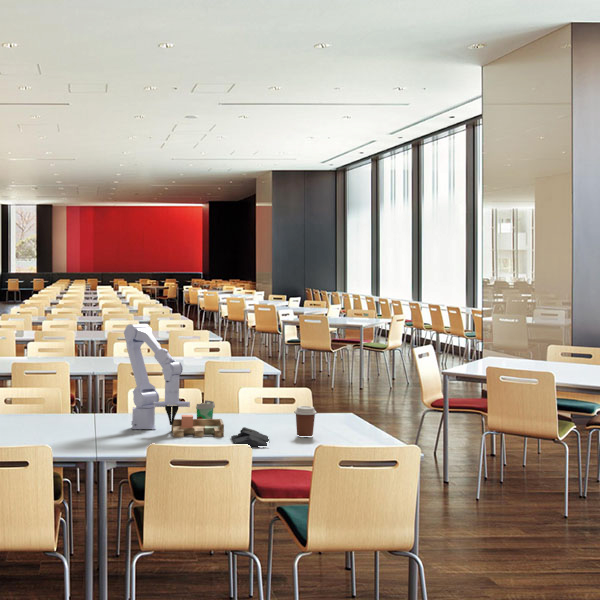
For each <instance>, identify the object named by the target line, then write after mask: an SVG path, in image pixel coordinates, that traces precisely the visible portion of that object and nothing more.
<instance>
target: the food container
mask: <svg viewBox="0 0 600 600" xmlns="http://www.w3.org/2000/svg"><path fill="white" fill-rule="evenodd" d="M215 405H216V404H215V402H214V401H212V400H207V399H205V400H204V402H201V403H196V407H195V408H196V419H214V418H213V416H214V409H215V408H216V406H215Z"/></svg>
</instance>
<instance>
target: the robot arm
mask: <svg viewBox="0 0 600 600" xmlns="http://www.w3.org/2000/svg"><path fill="white" fill-rule="evenodd" d="M123 334H124V339H125V343H126V344H125V345H126V350H127V354H128V358H129V361H130V366H131V370H132V372H133V377H134V378H133V379H134V380H135V381H134V382H135V384H136V385H135V386H136V387H135V388H134V389H133V391H132V395H133V404H134V406H135V407H132V418H131V419H132V420H131V428H132V429H152V430H156V423H155V421H156V417H155V416H156V408H165V409H164V411H165V412H166V415H167V417H168V422H169V426H172V425H173V422H174V419H176V415H177V413H178V410H179V407H180V408H186V407H187V408H190V406H191V405H190V404H191V402H190V401H183V400H182V401H181V400H180V376H181V374H182V373H183V365H182V363H181V362H180V361H178V360H175V359H174V358H173V357H172V355H171V354H170V352H169V350H168V349H166V348H163V347H161V345H160V343H159V342H158V341H157V338H155V336H154V334H153V328H151V326H150V325H149V324H147V323H139V324H137V323H135V324H133V323H132V324H131V323H130V324H128V325H126V326H125V329H124V331H123ZM144 344H146V345H147V347H149V349H151V351H152V352H153V353H154V355H153V357H154V359H155V361H157V362H158V364H159V366H161V371H162V375H163V380H164V401H160V395H159V393H158V391H157V390H156V386H155V385H153V384H152V383H151V382H150V380H149V375H148V371H147V368H146V364H145V361H144V357H143V353H142V349H141V347H142V345H144ZM132 429H131V430H132Z"/></svg>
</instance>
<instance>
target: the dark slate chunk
mask: <svg viewBox="0 0 600 600" xmlns="http://www.w3.org/2000/svg"><path fill="white" fill-rule="evenodd" d="M268 437H269V436H268V435H266V434H263V433H261V432H259V431H257V430H255V429H251V428H249V427H242V428H241V429H240V431H239V433H237V434H233V435H231V440H232V441H233V443H234V444H235V445H236V444H248V445H250V446H251V447H250V448H252V447H258V446H267V443H266V442H268V441H269V442H270V438H269V439H268Z"/></svg>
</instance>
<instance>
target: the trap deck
mask: <svg viewBox="0 0 600 600" xmlns="http://www.w3.org/2000/svg"><path fill="white" fill-rule="evenodd" d="M181 422H182V418H174V422H173V425H171V431H170V432H171V433H172V436H173V438H217V437H218V438H221V437H222V438H223V437H225V436H224V435H225V434H224V433H225V428H224V427H225V424H224V422H223V420H222V419H221V418H213V419H197V418H193V428H182V426H181Z"/></svg>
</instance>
